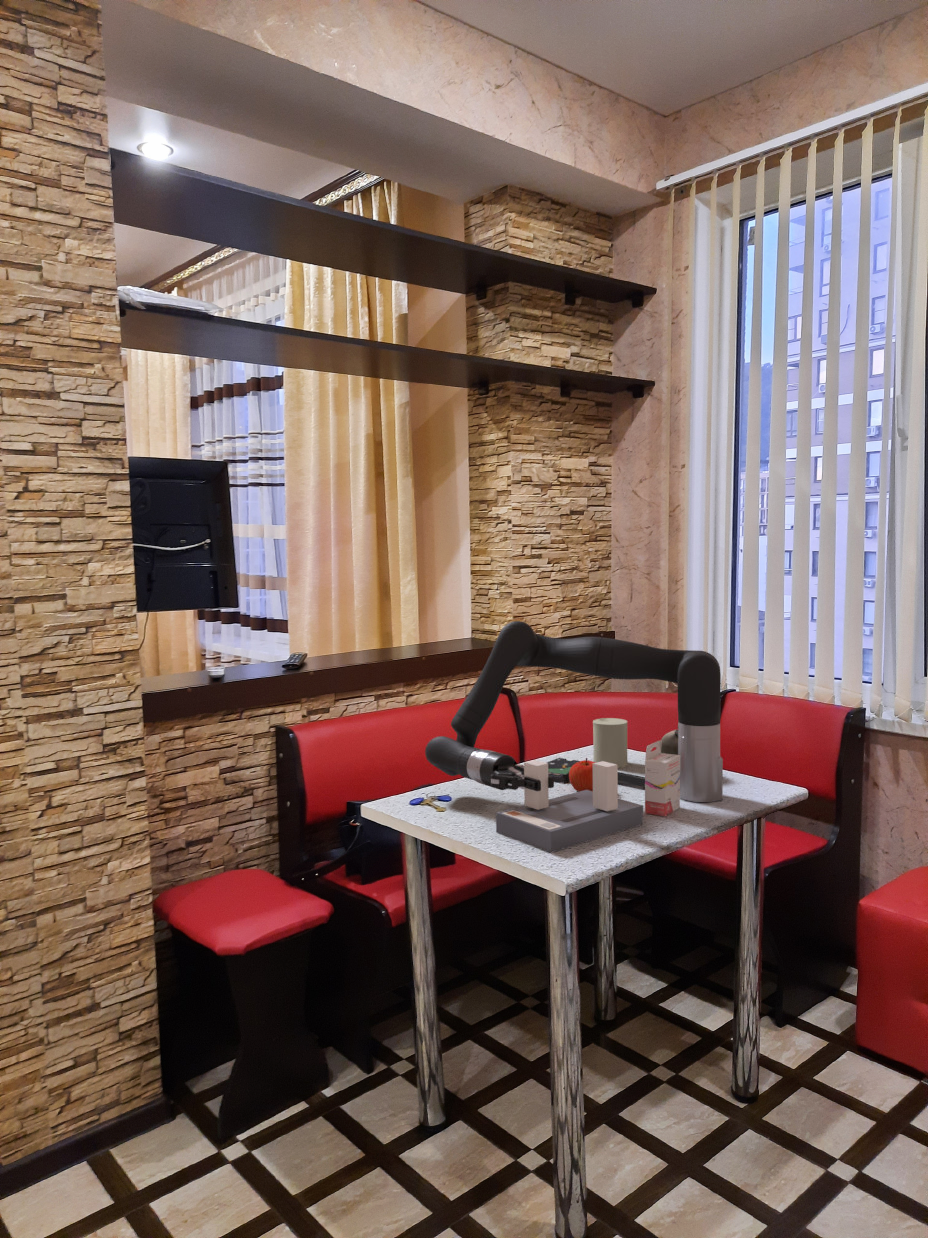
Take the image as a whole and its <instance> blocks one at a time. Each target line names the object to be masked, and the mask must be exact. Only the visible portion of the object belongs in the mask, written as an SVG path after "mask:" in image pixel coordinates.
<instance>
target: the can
mask: <svg viewBox="0 0 928 1238" xmlns="http://www.w3.org/2000/svg"><path fill="white" fill-rule="evenodd" d="M592 728H593V729H592V731H593V732H592V736H593V737H592V738H593V739H592V740H593V742H592V743H593V753H592V754H593V758H592V759H593V760H592V762H596V763H597V762H601V761H604V762H608V763H613V764H617V767H618V769H621V768H625V767H628V765H629V762H628V720H626V719H623V718H616V717H615V718H614V717H602V718H596V719H593V720H592Z"/></svg>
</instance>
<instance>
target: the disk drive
mask: <svg viewBox="0 0 928 1238" xmlns="http://www.w3.org/2000/svg"><path fill="white" fill-rule="evenodd" d="M580 761H581V760H578V759H573V760H567V758H562V757H558V758H555V759H552V760H550V761H547V762H546V763H548V776H551V777H553V778H554V783H561V784H566V783H568V782H570V780H569V771H570V769H571V767H572V766H573V765H574V764H575V763H577V762H580Z"/></svg>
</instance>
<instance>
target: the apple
mask: <svg viewBox="0 0 928 1238" xmlns="http://www.w3.org/2000/svg"><path fill="white" fill-rule="evenodd" d="M579 761H580V762H577V763H575V764H574V765H573V766H572V767H571V769H570V771H569V780H570V781H569V782H570V785H571V787H573V789H574V790H575V791H576V792H580V791H584V790H590V791H593V763H596V762H593V760H588V757H586V758H585V759H584V760H579Z"/></svg>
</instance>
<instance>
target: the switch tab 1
mask: <svg viewBox="0 0 928 1238" xmlns="http://www.w3.org/2000/svg"><path fill="white" fill-rule="evenodd" d="M523 766H524V775H525V776H526V777H530V778H534V779H537V780H540V781H541V790H540V791H534V790H531V789H527V788H526V789H523V791H524V806H528V807H531V808H534V809H537V810H539V809H543V808H546V807H549V799H550V798H549V792H550V791H549V788H548V763H547V762H545V761H540V760H536V759H533V760H528V761H525V762H524V763H523Z"/></svg>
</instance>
